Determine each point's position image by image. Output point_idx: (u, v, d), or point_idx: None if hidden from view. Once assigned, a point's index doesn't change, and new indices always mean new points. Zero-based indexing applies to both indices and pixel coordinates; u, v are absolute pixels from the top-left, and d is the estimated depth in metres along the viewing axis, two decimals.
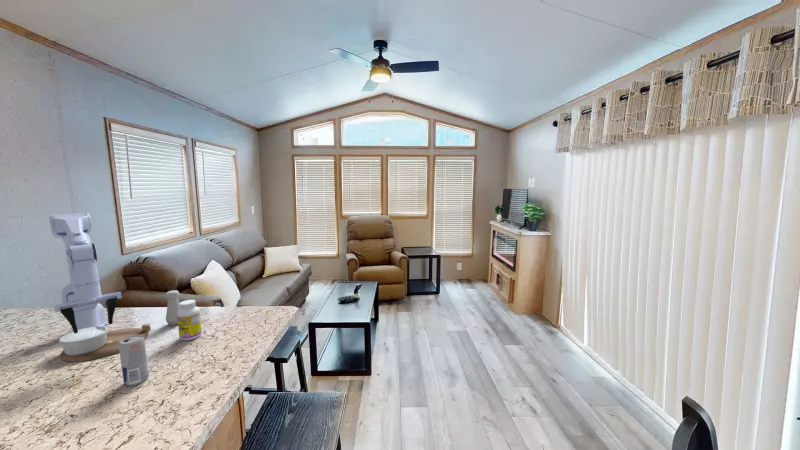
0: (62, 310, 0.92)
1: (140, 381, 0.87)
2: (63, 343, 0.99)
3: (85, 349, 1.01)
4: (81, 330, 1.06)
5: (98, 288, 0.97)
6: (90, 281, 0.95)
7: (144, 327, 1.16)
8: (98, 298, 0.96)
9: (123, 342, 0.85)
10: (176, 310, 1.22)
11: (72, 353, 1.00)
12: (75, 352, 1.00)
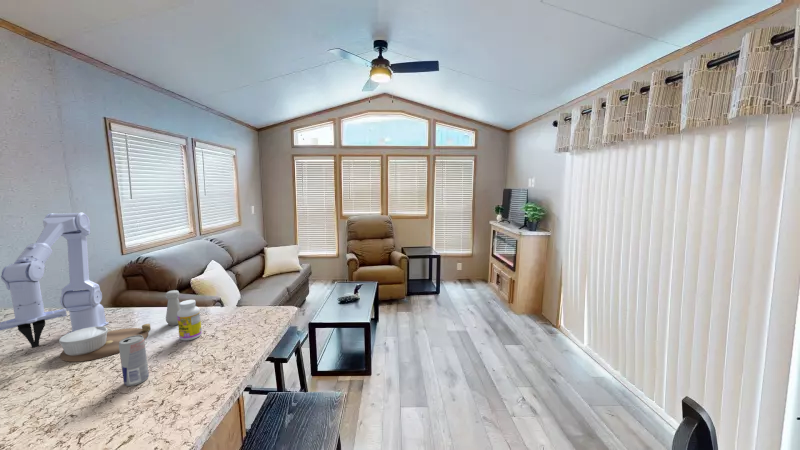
0: None
1: (140, 381, 0.87)
2: (63, 343, 0.99)
3: (85, 349, 1.01)
4: (81, 330, 1.06)
5: (40, 307, 0.95)
6: (23, 303, 0.92)
7: (144, 327, 1.16)
8: (40, 318, 0.94)
9: (123, 342, 0.85)
10: (176, 310, 1.22)
11: (72, 353, 1.00)
12: (75, 352, 1.00)
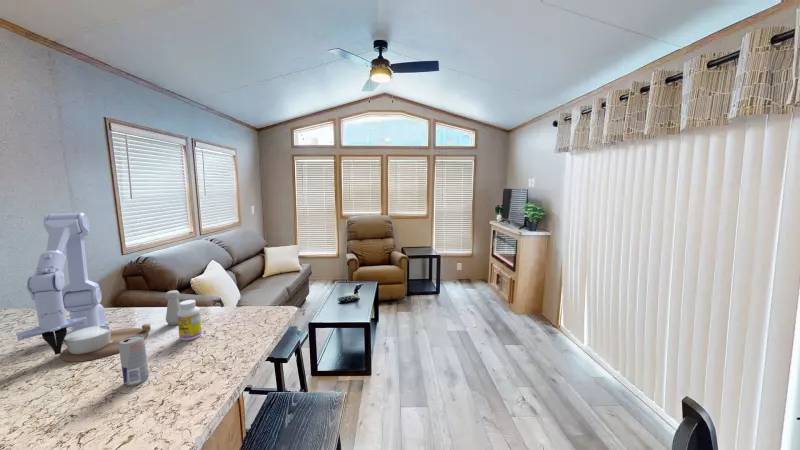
0: None
1: (140, 381, 0.87)
2: (68, 342, 0.99)
3: (90, 348, 1.02)
4: (85, 329, 1.07)
5: (63, 316, 0.99)
6: (49, 312, 0.96)
7: (144, 327, 1.16)
8: (62, 326, 0.98)
9: (123, 342, 0.85)
10: (176, 310, 1.22)
11: (77, 352, 1.00)
12: (79, 351, 1.00)
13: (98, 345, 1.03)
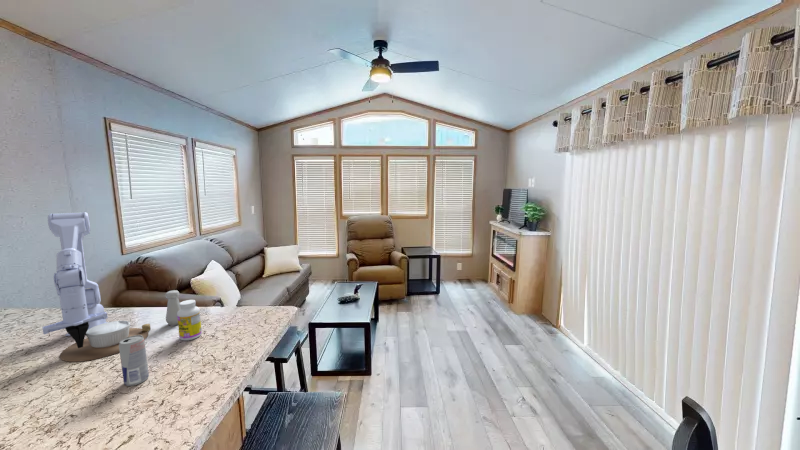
0: None
1: (140, 381, 0.87)
2: (90, 336, 1.03)
3: (110, 342, 1.05)
4: (105, 324, 1.11)
5: (85, 311, 1.02)
6: (76, 306, 1.00)
7: (144, 327, 1.16)
8: (85, 320, 1.02)
9: (123, 342, 0.85)
10: (176, 310, 1.22)
11: (98, 345, 1.04)
12: (101, 344, 1.04)
13: (118, 339, 1.07)
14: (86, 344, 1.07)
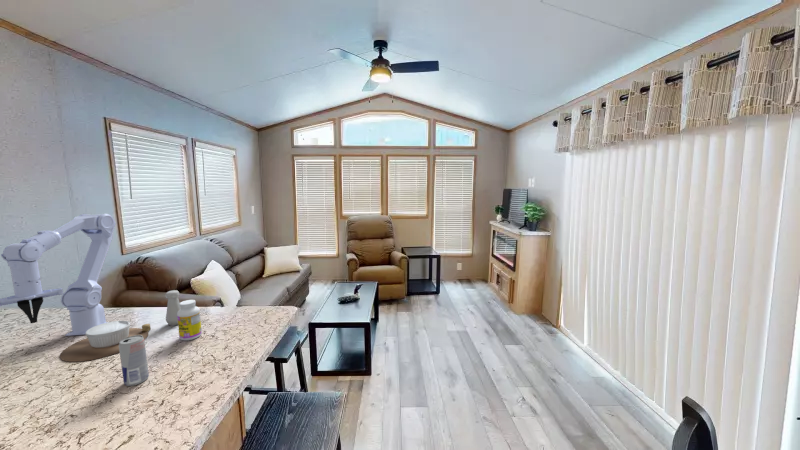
0: None
1: (140, 381, 0.87)
2: (89, 336, 1.03)
3: (110, 342, 1.05)
4: (105, 324, 1.11)
5: (38, 285, 1.01)
6: (18, 281, 0.97)
7: (144, 327, 1.16)
8: (38, 295, 1.01)
9: (123, 342, 0.85)
10: (176, 310, 1.22)
11: (98, 345, 1.04)
12: (101, 344, 1.04)
13: (118, 339, 1.07)
14: (86, 344, 1.07)
